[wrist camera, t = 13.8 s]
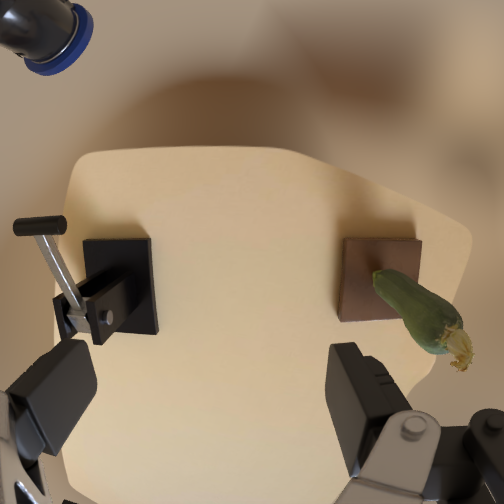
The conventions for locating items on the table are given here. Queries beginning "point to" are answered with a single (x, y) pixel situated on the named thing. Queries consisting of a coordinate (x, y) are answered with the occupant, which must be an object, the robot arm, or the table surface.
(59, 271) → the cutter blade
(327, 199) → the table surface
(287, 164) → the table surface
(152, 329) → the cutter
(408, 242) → the board
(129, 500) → the table surface
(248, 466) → the table surface
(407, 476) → the robot arm
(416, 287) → the vegetable
